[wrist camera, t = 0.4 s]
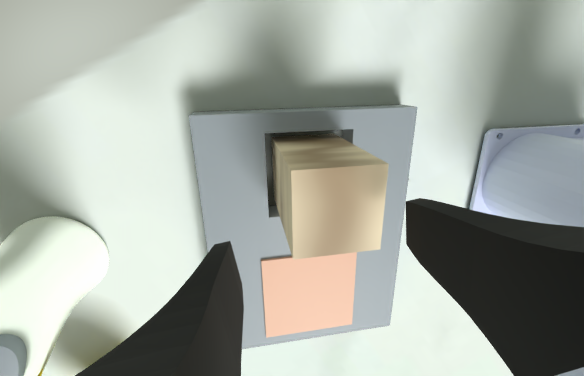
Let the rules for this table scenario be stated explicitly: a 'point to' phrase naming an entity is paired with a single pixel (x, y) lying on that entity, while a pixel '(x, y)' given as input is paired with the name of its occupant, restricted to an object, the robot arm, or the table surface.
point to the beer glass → (43, 287)
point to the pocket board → (269, 230)
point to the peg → (328, 195)
